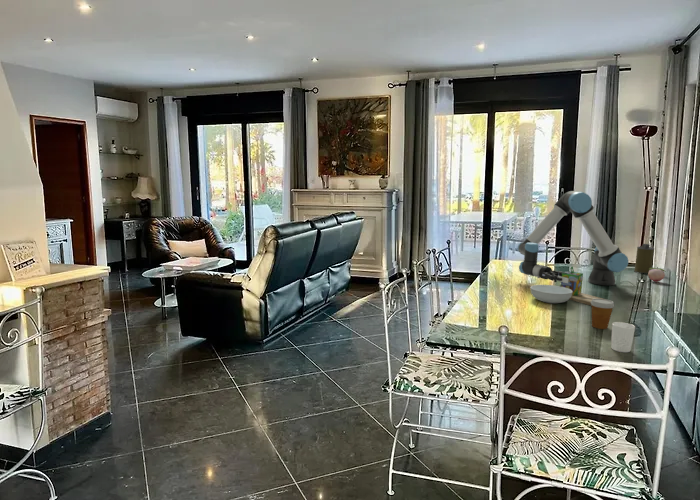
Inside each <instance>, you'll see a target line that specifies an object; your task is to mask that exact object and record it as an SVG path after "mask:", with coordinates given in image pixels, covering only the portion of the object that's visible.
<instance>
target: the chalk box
mask: <svg viewBox="0 0 700 500" xmlns="http://www.w3.org/2000/svg"><path fill="white" fill-rule="evenodd" d="M569 269H570V271H568V270H566V271H562V272H563V273H562V277H565V278H569V280H568V283H564V282H561V283H560V284H561V285H560V287H565V288H568V289H571V290H572V291H573V293H572V295H576V296H578V295H579V294H581V293H582V290H583V289H582V287H583V281H582V280H584V273H583V272H576V271H574V267H573V265H572V266H571V267H570V268H569Z"/></svg>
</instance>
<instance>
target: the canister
mask: <svg viewBox="0 0 700 500" xmlns="http://www.w3.org/2000/svg"><path fill="white" fill-rule="evenodd" d="M636 248H637V249H636V256H635V263H634V264H635V265H634V270H633V271H634V272H635V273H637V272H639V273H638V274H643V273H648V272H649V270H651V269H650V268H653V267H652V266H653V259H654V252H655V248H654V247H651V246H650V244H649V243H642V245H639V246H637V247H636Z"/></svg>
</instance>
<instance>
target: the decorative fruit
mask: <svg viewBox="0 0 700 500" xmlns="http://www.w3.org/2000/svg"><path fill="white" fill-rule="evenodd" d="M650 269H651V270H649V272H648V274H647V276H648V278H649V279H650V280H651V281H652V282H654V283H657V282H661V281H662V280H664V278H665V276H666V275H665V274H666V273H665V272H666V270H665V269H663V268H658V266H657V267H652V268H650Z"/></svg>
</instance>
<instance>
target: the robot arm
mask: <svg viewBox="0 0 700 500" xmlns="http://www.w3.org/2000/svg"><path fill="white" fill-rule="evenodd" d="M594 209H595V207H594V206H593V200H592V198H591V196H590V195H589V194H588V193H586V192H583V191H577V190H570V191H567V192H565V193H564V194H562V196H561V197H560V198H559V199H558V200H557V201H556V202H555V204H554V205H553V207H552V209H551V210H550V211H549V213H548V214H547V215H546V216H545V217H544V218H543V219H542V220H541V222H540V223H539V224H538V225H537V226H536V228H535V229H534V230H533V231H532V232H531V233H530V234H529V236H527V237H526V239H525V240H523V241H522V242H520V243H519V244H518V245H517V252H518V253H520V254H521V255H523V261H521V262H520V263H519V266H518V270H519V272H520V273H522V274H524V275H526V276H530V277H531V276H532V277H536V278H537V279H542V280H549V281H554V283H556V282H564V283H568V280H569V278H565V277H562V273H563V272H564V271H562V270H561V271H560V270H553V269H552V267H550V266H547V265H542V264H538V255H539V244H540V243H541V242H542V241H543V239H544V238H546V236H547V235H548V234H549V233H550V232H551V231H552V230H553V228H554V227H555V226H556V225H557V224H558V223H559V222H560V221H561V219H562V218H563V217H564V216H568V214H570V213H571V214H572V215H573V217H574V218H575V219H577V220H579V221H580V223H581V224H582V227H584V229H585V231H586V232H587V235H588V237H590V240H591V241H592V242H593V244H594V246H595V248H594V252H593V263H592V270H591V272H590V275H589V276H588V279H587V280H588V283H590V284H593V285H599V286H600V285H601V286H615V284H616V278H615V274H614V273H620V272H623V271H624V270H626V269H627V267H628V265H629V259H628V258H629V257H628V256H627V255H626V254H625V253H624V252H622V251H621V250H620V247H619V246H618V245H617V244H614V243H613V241H612V240H611V238H610V236H609V235H608V233H607V232H606V230H605V229H604V227H603V225H602V223H600V221H599V219H598V217H597V216H596V214H595V212H594ZM583 280H584V279H583ZM583 280H582V282H584V281H583Z"/></svg>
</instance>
